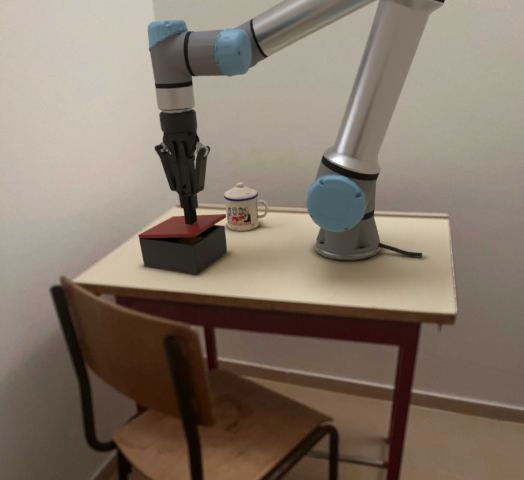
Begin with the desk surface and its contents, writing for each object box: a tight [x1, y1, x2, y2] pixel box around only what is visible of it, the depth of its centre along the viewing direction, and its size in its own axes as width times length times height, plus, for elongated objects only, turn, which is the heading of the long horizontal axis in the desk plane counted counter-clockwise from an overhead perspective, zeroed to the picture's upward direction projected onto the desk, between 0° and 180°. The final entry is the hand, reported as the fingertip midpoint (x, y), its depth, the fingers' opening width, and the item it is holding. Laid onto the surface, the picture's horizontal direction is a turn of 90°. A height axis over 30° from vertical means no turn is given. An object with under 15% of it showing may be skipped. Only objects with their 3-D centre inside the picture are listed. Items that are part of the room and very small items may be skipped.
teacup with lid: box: [223, 181, 270, 232], centre depth 139 cm, size 12×9×12 cm
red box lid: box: [138, 213, 227, 239], centre depth 119 cm, size 16×14×1 cm
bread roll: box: [177, 237, 203, 244], centre depth 122 cm, size 8×9×4 cm
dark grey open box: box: [138, 224, 228, 276], centre depth 122 cm, size 15×14×7 cm
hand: (191, 222), depth 118 cm, fingers closed
